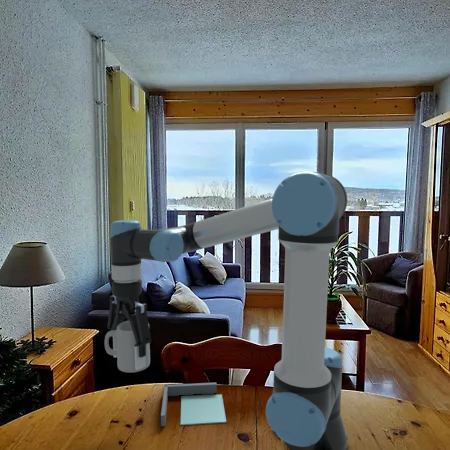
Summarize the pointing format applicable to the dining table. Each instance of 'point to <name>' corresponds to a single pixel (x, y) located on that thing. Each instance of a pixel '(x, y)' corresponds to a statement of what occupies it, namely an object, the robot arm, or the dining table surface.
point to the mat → (202, 409)
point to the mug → (125, 348)
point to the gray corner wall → (184, 393)
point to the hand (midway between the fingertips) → (129, 361)
